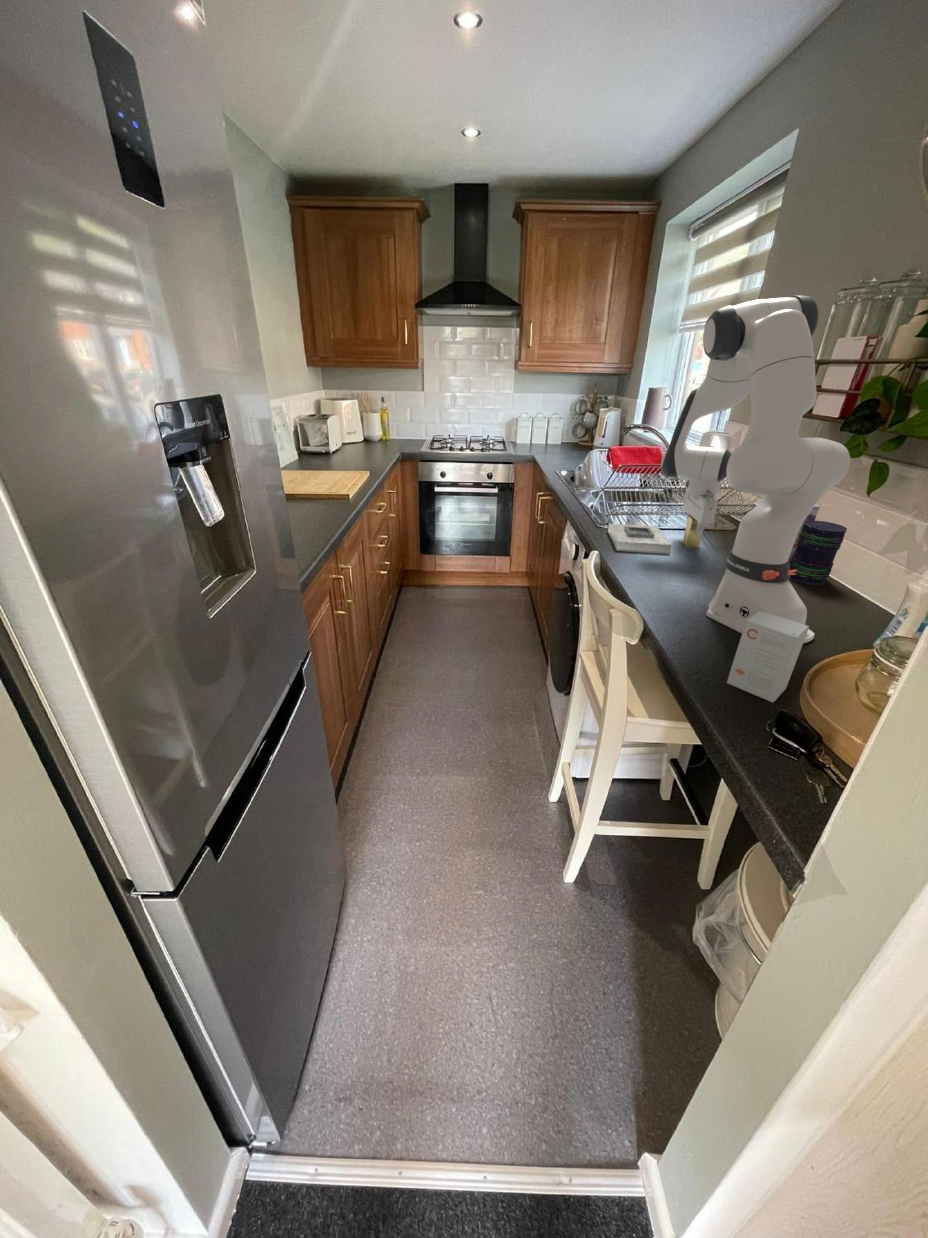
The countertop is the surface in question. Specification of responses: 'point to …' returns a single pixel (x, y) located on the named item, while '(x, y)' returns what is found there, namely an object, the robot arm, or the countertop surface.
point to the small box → (767, 655)
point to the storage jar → (816, 551)
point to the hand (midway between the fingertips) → (693, 530)
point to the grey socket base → (639, 539)
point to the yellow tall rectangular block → (691, 534)
